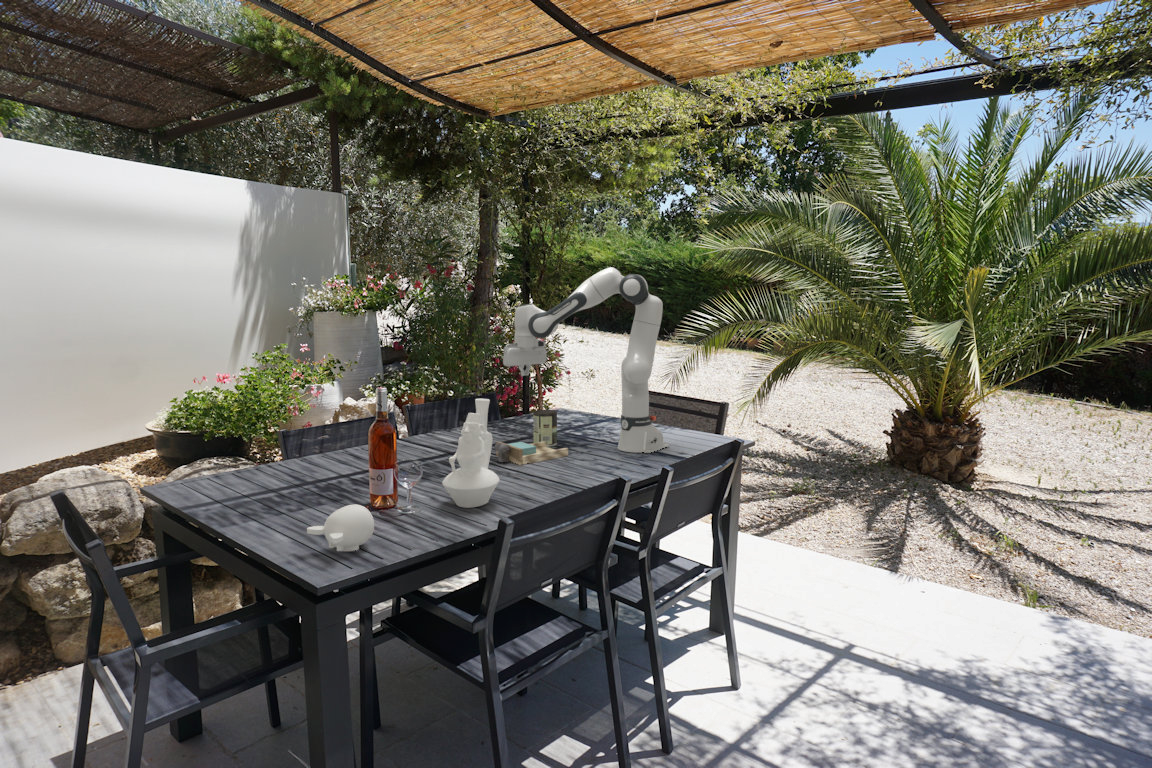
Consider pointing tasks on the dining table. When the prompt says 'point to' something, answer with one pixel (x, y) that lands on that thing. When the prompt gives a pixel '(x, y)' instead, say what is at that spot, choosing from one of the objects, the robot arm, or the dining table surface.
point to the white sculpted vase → (473, 461)
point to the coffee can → (545, 427)
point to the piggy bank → (346, 528)
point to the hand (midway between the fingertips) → (524, 375)
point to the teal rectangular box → (525, 447)
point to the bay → (541, 454)
